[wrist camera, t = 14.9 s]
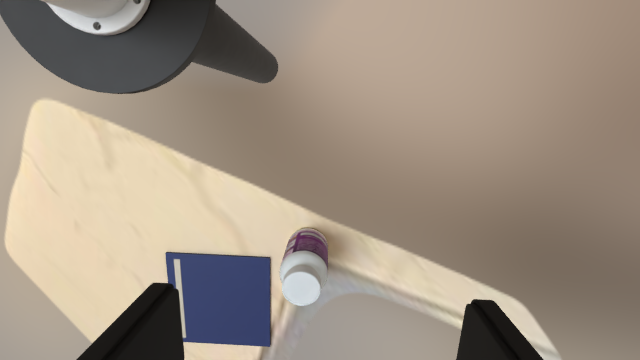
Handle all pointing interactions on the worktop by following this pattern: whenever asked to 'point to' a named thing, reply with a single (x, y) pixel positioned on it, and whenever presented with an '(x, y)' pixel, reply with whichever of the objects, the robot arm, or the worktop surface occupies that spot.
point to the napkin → (222, 297)
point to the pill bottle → (304, 267)
